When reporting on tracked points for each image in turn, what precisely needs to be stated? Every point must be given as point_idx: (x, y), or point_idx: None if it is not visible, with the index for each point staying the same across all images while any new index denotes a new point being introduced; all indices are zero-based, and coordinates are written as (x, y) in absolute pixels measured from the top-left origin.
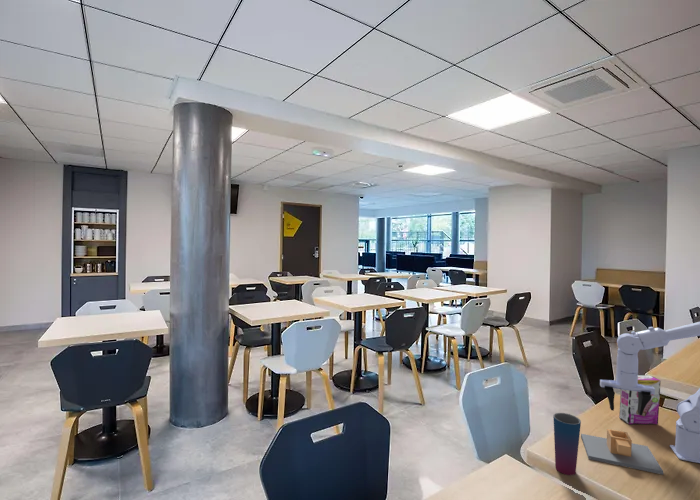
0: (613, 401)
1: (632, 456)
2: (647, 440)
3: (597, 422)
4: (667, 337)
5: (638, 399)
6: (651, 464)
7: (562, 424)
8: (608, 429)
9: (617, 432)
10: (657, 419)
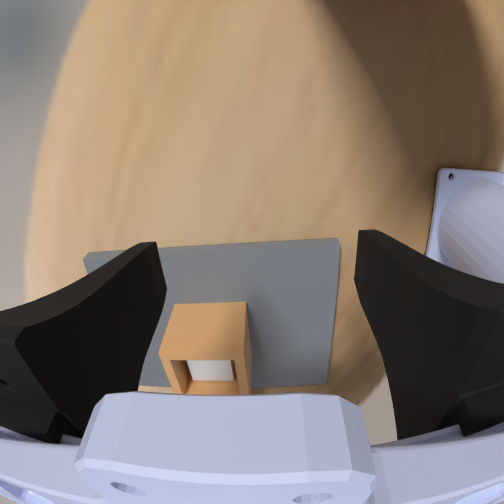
0: (141, 364)
1: (256, 349)
2: (366, 140)
3: (146, 39)
4: None
5: (413, 282)
6: (305, 366)
7: None
8: (164, 357)
9: (202, 356)
10: None
